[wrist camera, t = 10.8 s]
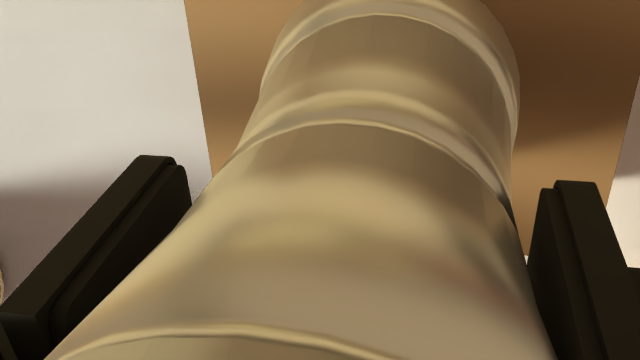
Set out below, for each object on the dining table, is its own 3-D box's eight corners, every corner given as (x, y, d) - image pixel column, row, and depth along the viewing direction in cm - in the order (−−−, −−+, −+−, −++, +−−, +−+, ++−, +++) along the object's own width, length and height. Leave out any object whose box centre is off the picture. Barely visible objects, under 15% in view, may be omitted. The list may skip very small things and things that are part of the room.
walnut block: (220, -180, 19) (155, -178, 15) (648, -203, 17) (710, -208, 13) (258, 162, 26) (221, 229, 22) (568, 182, 24) (592, 261, 20)
